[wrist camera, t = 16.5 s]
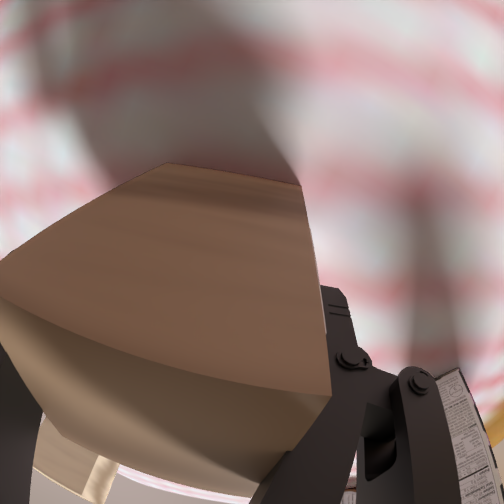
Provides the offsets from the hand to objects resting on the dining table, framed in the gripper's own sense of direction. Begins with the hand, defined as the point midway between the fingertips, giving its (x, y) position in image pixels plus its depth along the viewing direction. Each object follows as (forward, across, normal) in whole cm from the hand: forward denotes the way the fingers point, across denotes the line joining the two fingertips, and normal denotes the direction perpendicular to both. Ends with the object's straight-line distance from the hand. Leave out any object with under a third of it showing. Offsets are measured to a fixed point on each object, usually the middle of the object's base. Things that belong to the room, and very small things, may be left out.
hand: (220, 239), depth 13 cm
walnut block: (0, 0, 0) cm, 0 cm away
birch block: (-1, -10, -20) cm, 22 cm away
